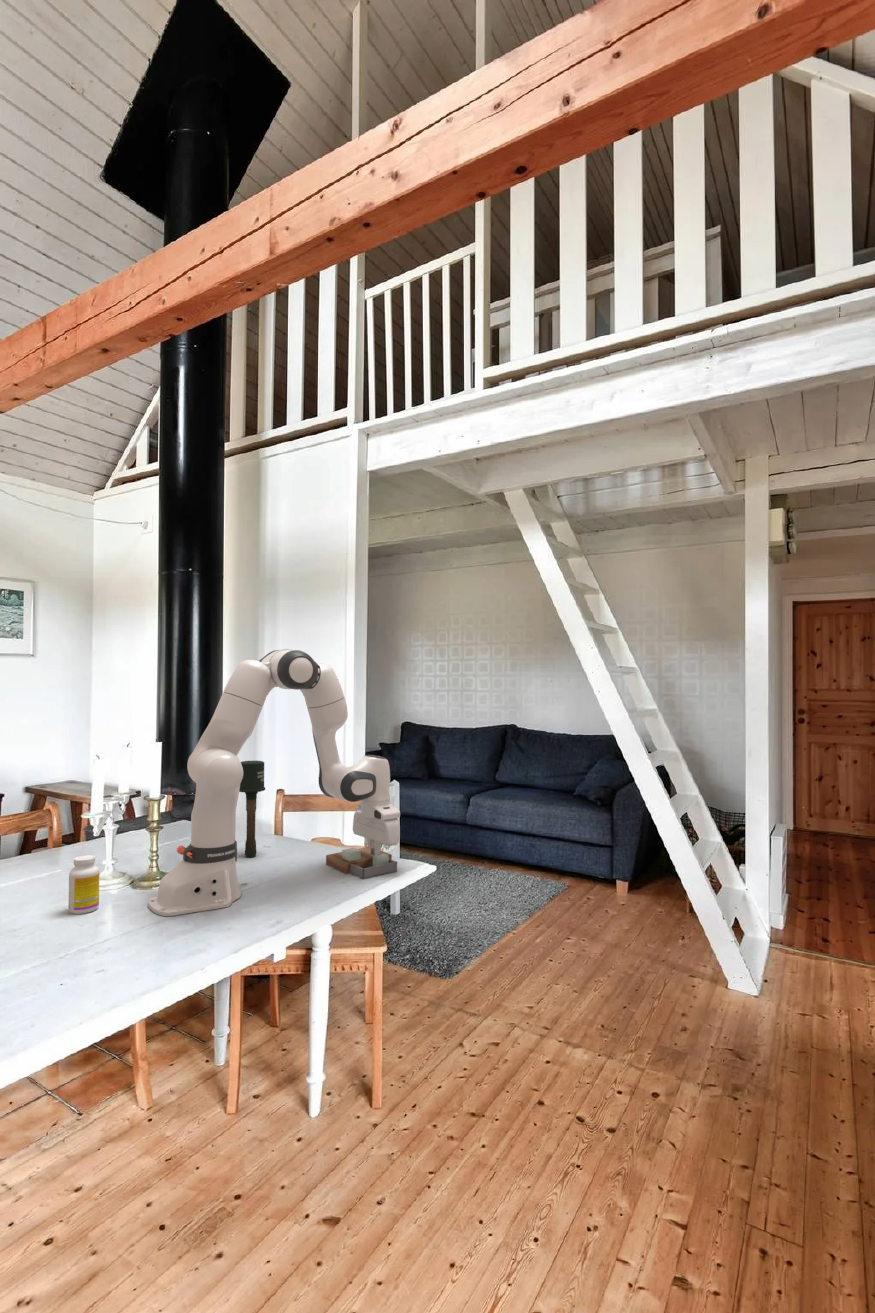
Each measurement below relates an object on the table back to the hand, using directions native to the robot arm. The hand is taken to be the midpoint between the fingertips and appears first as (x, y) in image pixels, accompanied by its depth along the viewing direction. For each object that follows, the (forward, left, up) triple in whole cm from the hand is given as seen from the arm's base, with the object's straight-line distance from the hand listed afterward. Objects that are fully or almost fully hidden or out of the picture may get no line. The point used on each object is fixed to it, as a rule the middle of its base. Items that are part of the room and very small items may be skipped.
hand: (375, 854), depth 201 cm
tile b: (0, -2, -2) cm, 2 cm away
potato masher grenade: (-24, +35, -4) cm, 42 cm away
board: (-2, +6, -4) cm, 7 cm away
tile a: (-6, +4, -1) cm, 7 cm away
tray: (-3, -4, -4) cm, 6 cm away
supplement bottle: (-76, +16, -4) cm, 78 cm away
